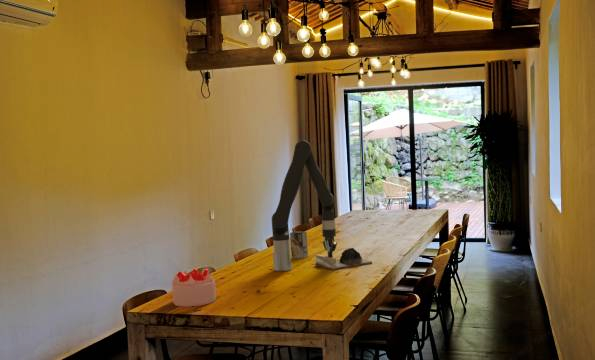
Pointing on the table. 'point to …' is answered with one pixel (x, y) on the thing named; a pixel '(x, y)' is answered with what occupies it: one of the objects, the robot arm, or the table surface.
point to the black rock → (350, 256)
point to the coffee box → (299, 244)
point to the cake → (193, 288)
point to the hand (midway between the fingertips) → (330, 258)
